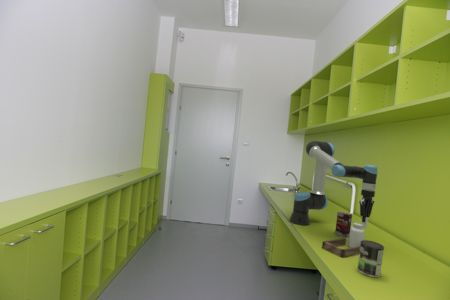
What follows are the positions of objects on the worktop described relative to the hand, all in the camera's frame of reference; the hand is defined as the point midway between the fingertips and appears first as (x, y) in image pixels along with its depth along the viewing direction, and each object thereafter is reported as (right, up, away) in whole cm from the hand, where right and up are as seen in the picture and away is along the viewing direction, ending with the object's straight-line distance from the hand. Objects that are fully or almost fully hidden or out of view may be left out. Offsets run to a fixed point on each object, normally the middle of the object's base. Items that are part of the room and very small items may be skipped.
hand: (363, 227), depth 169 cm
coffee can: (-16, -12, -36) cm, 41 cm away
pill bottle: (-7, -12, -3) cm, 14 cm away
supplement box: (-5, -12, +19) cm, 23 cm away
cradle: (-17, -11, -10) cm, 23 cm away
